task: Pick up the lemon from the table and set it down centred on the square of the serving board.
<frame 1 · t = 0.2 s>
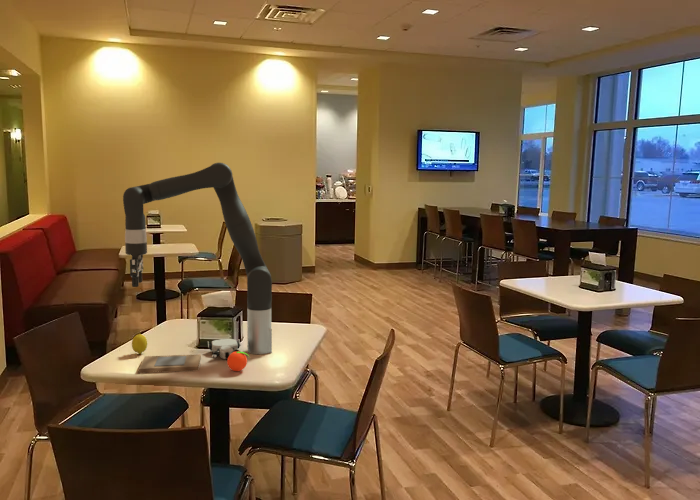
hand: (137, 284, 221), 27 cm above the table, tool pointing down, fingers open, 8 cm apart
serving board: (171, 365, 214), on the table
clementine: (238, 371, 210), on the table
lemon: (139, 354, 226), on the table
robot toy: (225, 355, 227), on the table
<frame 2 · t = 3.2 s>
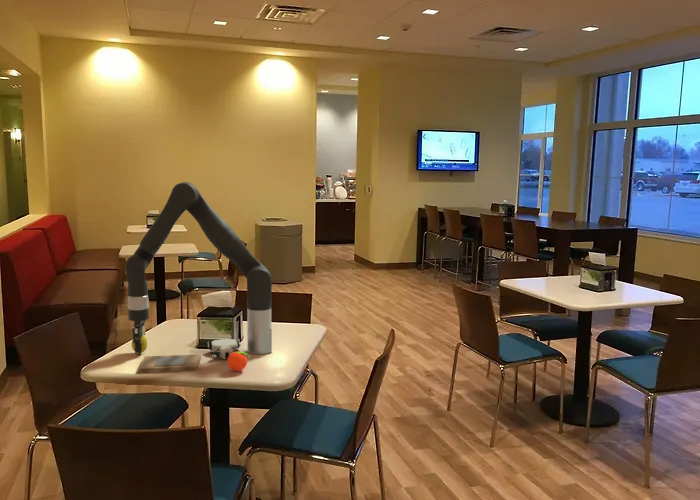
hand: (139, 350, 226), 2 cm above the table, tool pointing down, fingers closed on lemon, 5 cm apart
lemon: (139, 354, 226), on the table, touching gripper
everything else where it was.
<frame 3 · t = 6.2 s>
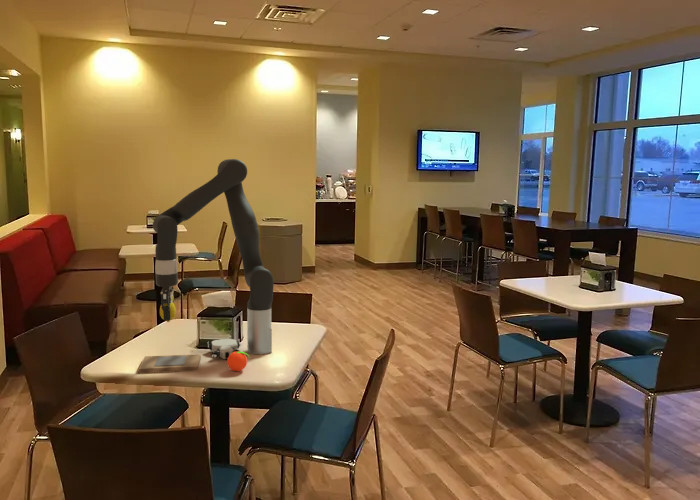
hand: (168, 318, 213), 17 cm above the table, tool pointing down, fingers closed on lemon, 5 cm apart
lemon: (168, 322, 213), point 15 cm above the table, touching gripper
everything else where it was.
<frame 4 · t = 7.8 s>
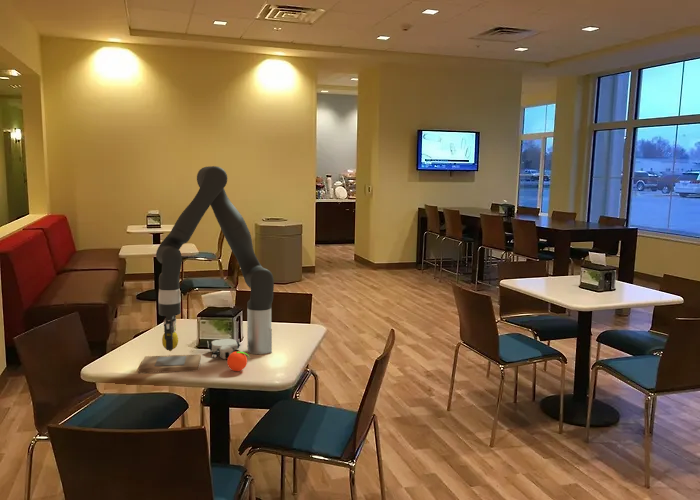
hand: (170, 347, 213), 7 cm above the table, tool pointing down, fingers closed on lemon, 5 cm apart
lemon: (170, 351, 213), point 5 cm above the table, touching gripper
everything else where it was.
when the fingers open (4 cm above the table, at t = 9.3 s): lemon stays where it is, resting on serving board.
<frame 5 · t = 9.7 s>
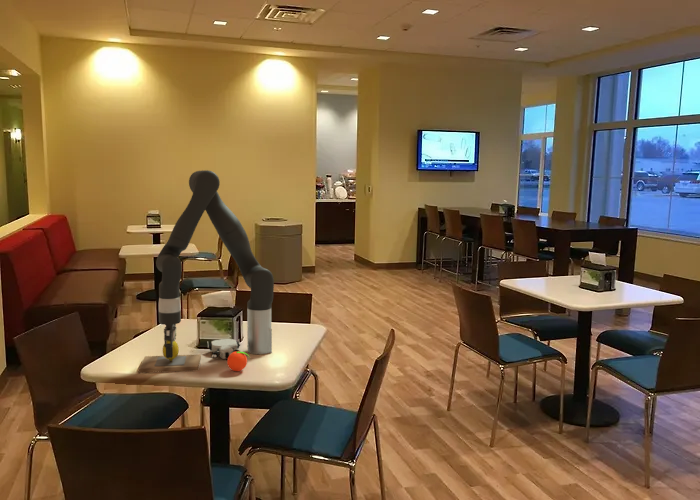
hand: (170, 353, 214), 4 cm above the table, tool pointing down, fingers open, 8 cm apart
lemon: (170, 361, 214), point 2 cm above the table, touching serving board
everything else where it was.
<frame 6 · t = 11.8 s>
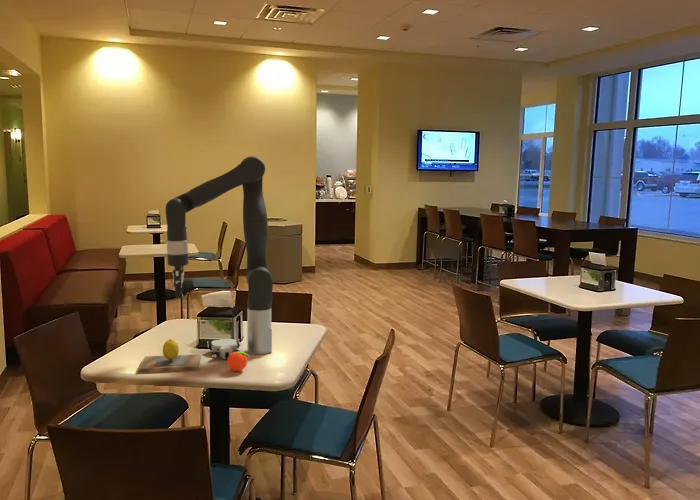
hand: (179, 295, 223), 23 cm above the table, tool pointing down, fingers open, 8 cm apart
nothing on the table moved.
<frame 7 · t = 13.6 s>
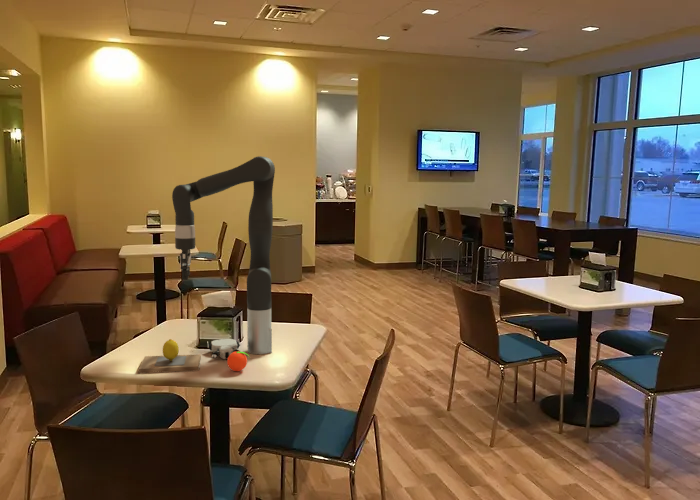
hand: (185, 277, 232), 28 cm above the table, tool pointing down, fingers open, 8 cm apart
nothing on the table moved.
at the end: lemon 0.1 cm off-centre on the serving board, point 1.5 cm above the serving board's base; the gripper is holding nothing; lemon touching serving board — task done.
